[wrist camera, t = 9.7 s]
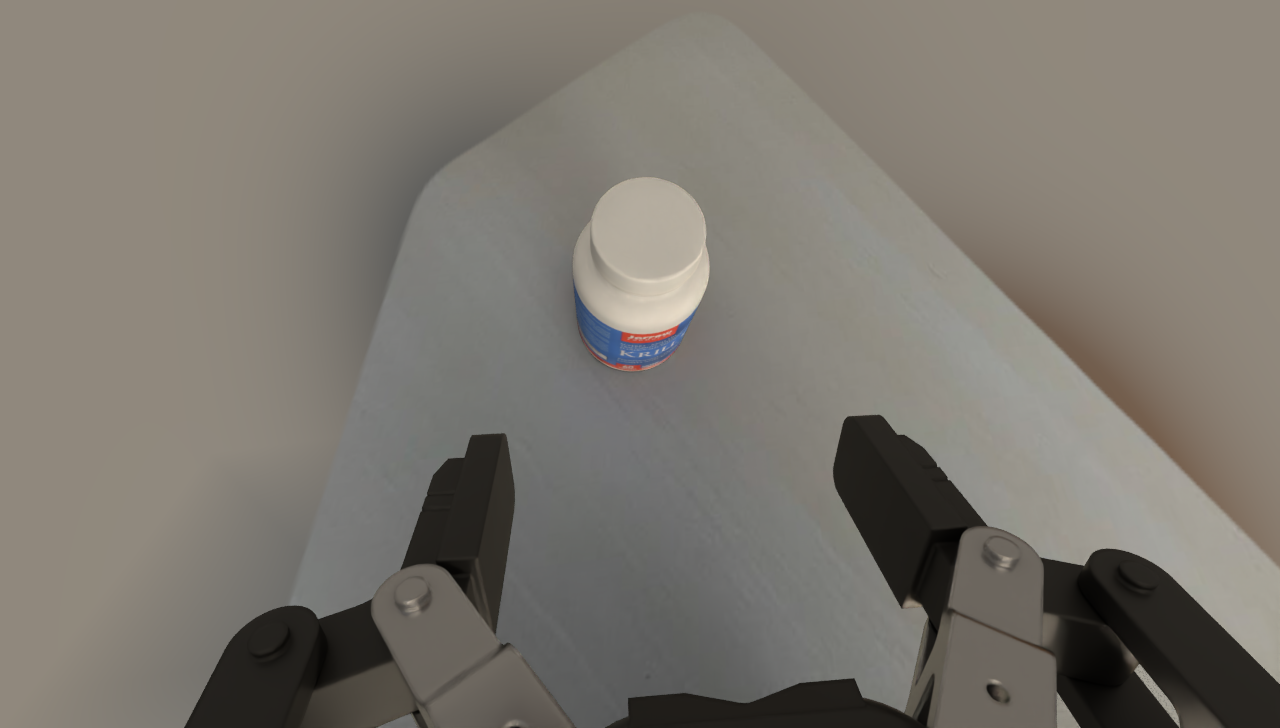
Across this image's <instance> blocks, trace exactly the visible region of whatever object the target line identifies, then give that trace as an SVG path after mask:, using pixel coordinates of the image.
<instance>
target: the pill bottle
mask: <svg viewBox="0 0 1280 728" xmlns="http://www.w3.org/2000/svg"><path fill="white" fill-rule="evenodd" d="M705 241H706V223H705V219H704V216H703V213H702V211H701V209H700V207H699V205H698V204H697V202H696V201H695V200H694V199H693V197H692V196H691V195H689V194H688V192H686V191H685V190H684V189H683V188H681V187H680V186H678V185H676V184H674V183H672V182H669V181H667V180H664V179H659V178H653V177H639V178H633V179H629V180H626V181H623V182H621V183H619V184H617V185H615V186H613V187H612V188H611V189H610V190H609V191H607V192H606V193H605V194H604V195H603V196H602V198H601V199H600V200H599V202H598V203H597V205H596V207H595V209H594V212H593V214H592V218H591V221H590V222H589V223H588V224H587V225H586V226H585V228H584V229H583V231H582V232H581V234H580V236H579V238H578V240H577V243H576V246H575V249H574V253H573V282H574V293H575V303H576V313H577V322H578V328H579V332H580V335H581V338H582V340H583V342H584V344H585V346H586V347H587V349H588V350H589V352H590V353H591V354H592V355H593V356H594V357H595V358H596V359H598V360H599V361H600V362H602V363H604V364H605V365H607V366H609V367H612V368H614V369H618V370H622V371H642V370H647V369H650V368H653V367H655V366H657V365H659V364H661V363H662V362H664V361H665V360H666V359H668V358H669V357H670V356H671V355H672V354H673V353H674V352H675V350H676V349H677V347H678V346H679V344H680V343H681V341H682V338H683V336H684V334H685V332H686V330H687V328H688V326H689V324H690V322H691V320H692V318H693V316H694V314H695V311H696V309H697V307H698V305H699V303H700V301H701V299H702V297H703V295H704V292H705V290H706V287H707V284H708V279H709V270H710V264H709V256H708V251H707V248H706V245H705Z"/></svg>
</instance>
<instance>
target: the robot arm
mask: <svg viewBox="0 0 1280 728" xmlns="http://www.w3.org/2000/svg"><path fill="white" fill-rule="evenodd" d="M833 477H834V483H835V487H836V490H837V492H838V494H839V496H840V497H841V499H842V501H843V503H844V505H845V507H846V508H847V510H848V512H849V514H850V516H851V517H852V519H853V521H854V523H855V525H856V527H857V528H858V530H859V532H860V534H861V536H862V537H863V539H864V541H865V543H866V545H867V547H868V548H869V550H870V552H871V554H872V556H873V557H874V559H875V561H876V563H877V565H878V567H879V568H880V570H881V572H882V574H883V576H884V577H885V579H886V581H887V583H888V585H889V586H890V588H891V590H892V592H893V594H894V596H895V597H896V599H897V601H898V603H899V605H900V606H901V608H902V609H903V608H916V607H923V608H924V610H925V611H926V613H927V615H928V618H927V620H926V622H925V625H924V629H923V634H922V638H921V643H920V648H919V652H918V657H917V662H916V666H915V671H914V676H913V680H912V685H911V689H910V694H909V698H908V702H907V705H906V709H905V712H904V713H903V712H901V711H899V710H897V709H895V708H893V707H890V706H888V705H886V704H883V703H880V702H877V701H874V700H870V699H866V698H862V696H861V693H860V691H859V688H858V686H857V684H856V681H855V679H854V678H853V679H841V680H830V681H818V682H806V683H799V684H796V685H794V686H791V687H789V688H786V689H784V690H781V691H779V692H776V693H774V694H771V695H769V696H766V697H764V698H761V699H759V700H756V701H754V702H750V703H737V702H732V701H726V700H721V699H715V698H710V697H704V696H698V695H693V694H687V693H680V694H668V695H657V696H645V697H634V698H628V715H629V716H628V717H626V718H623V719H621V720H618V721H616V722H614V723H612V724H611V725H609V726H607V727H605V728H1057V692H1058V694H1059V695H1060V697H1061V698H1062V700H1063V701H1064V703H1065V704H1066V706H1067V707H1068V709H1069V710H1070V712H1071V714H1072V715H1073V717H1074V718H1075V720H1076V721H1077V723H1078V724H1079V726H1080V727H1081V728H1179V727H1178V725H1177V724H1176V723H1175V722H1174V720H1173V719H1172V718H1171V717H1170V715H1169V714H1168V713H1167V712H1166V710H1165V709H1164V708H1163V707H1162V705H1161V704H1160V703H1159V702H1158V700H1157V699H1156V698H1155V697H1154V695H1153V694H1152V693H1151V692H1150V690H1149V689H1148V688H1147V687H1146V685H1145V684H1144V683H1143V682H1142V680H1141V679H1140V678H1139V677H1138V675H1137V674H1136V673H1135V672H1134V670H1135V669H1136V667H1137V666H1138V665H1139V663H1140V665H1141V666H1142V667H1143V668H1144V669H1145V671H1146V672H1147V673H1148V674H1149V676H1150V677H1151V678H1152V679H1153V680H1154V682H1155V683H1156V684H1157V685H1158V687H1159V688H1160V689H1161V690H1162V691H1163V693H1164V694H1165V695H1166V696H1167V698H1168V699H1169V700H1170V702H1171V703H1172V704H1173V706H1174V708H1175V710H1176V712H1177V714H1178V717H1179V721H1180V728H1280V684H1279V683H1278V682H1277V681H1276V680H1275V679H1274V678H1273V677H1272V676H1271V675H1270V674H1269V673H1268V672H1267V671H1266V670H1265V669H1264V668H1263V667H1262V666H1261V665H1260V664H1259V663H1258V662H1257V661H1256V660H1255V659H1254V658H1253V657H1252V656H1251V655H1250V654H1249V653H1248V652H1247V651H1246V650H1245V649H1244V648H1243V647H1242V646H1241V645H1240V644H1239V643H1238V642H1237V641H1236V640H1235V639H1234V638H1233V637H1232V636H1231V635H1230V634H1229V633H1228V632H1227V631H1226V630H1225V629H1224V628H1223V627H1222V626H1221V625H1219V624H1218V623H1217V622H1216V621H1215V620H1214V619H1213V618H1212V617H1211V616H1210V615H1209V614H1208V613H1207V612H1206V611H1205V610H1204V609H1203V608H1202V607H1201V606H1200V605H1199V604H1198V603H1197V602H1196V601H1195V600H1194V599H1193V598H1192V597H1191V596H1190V595H1189V594H1188V593H1187V592H1186V591H1185V590H1184V589H1183V588H1182V587H1181V586H1180V585H1179V584H1178V583H1177V582H1176V581H1175V580H1174V579H1173V578H1172V577H1171V576H1170V575H1169V574H1168V573H1167V572H1165V571H1164V570H1163V569H1161V568H1160V567H1158V566H1157V565H1155V564H1154V563H1152V562H1150V561H1148V560H1146V559H1144V558H1142V557H1140V556H1138V555H1135V554H1132V553H1129V552H1126V551H1122V550H1117V549H1100V550H1097V551H1095V552H1094V553H1092V555H1091V556H1090V557H1089V559H1088V561H1087V562H1086V564H1085V566H1082V565H1077V564H1071V563H1066V562H1061V561H1055V560H1050V559H1045V558H1040V557H1039V555H1038V554H1037V553H1036V552H1035V550H1034V549H1033V548H1032V547H1031V546H1030V545H1028V544H1027V543H1026V542H1025V541H1023V540H1022V539H1020V538H1019V537H1017V536H1015V535H1013V534H1011V533H1009V532H1007V531H1004V530H1001V529H998V528H994V527H988V526H987V525H986V523H985V522H984V521H983V520H982V519H981V517H980V516H979V515H978V514H977V512H976V511H975V510H974V509H973V508H972V506H971V505H970V504H969V503H968V501H967V500H966V499H965V498H964V497H963V495H962V494H961V493H960V492H959V490H958V489H957V488H956V487H955V486H954V484H953V483H952V482H951V481H950V480H948V479H947V476H946V475H945V473H944V472H943V471H942V470H941V468H940V467H937V464H936V462H935V461H934V460H933V459H932V457H931V456H930V455H929V454H928V453H927V451H926V450H925V449H924V448H923V447H922V446H920V445H919V444H917V443H916V442H914V441H913V440H911V439H910V438H908V437H907V436H905V435H897V434H896V433H895V431H894V430H893V429H892V428H891V426H890V425H889V424H888V422H887V421H886V420H885V419H884V418H883V417H882V416H881V415H866V416H849V417H847V418H846V419H845V420H844V423H843V427H842V431H841V435H840V440H839V444H838V448H837V453H836V457H835V462H834V467H833ZM514 506H515V490H514V480H513V474H512V467H511V461H510V454H509V448H508V442H507V437H506V434H505V433H502V434H482V435H472V436H471V438H470V441H469V444H468V448H467V451H466V455H465V458H451V459H448V460H447V461H446V462H445V463H444V464H443V465H442V466H441V467H440V468H439V469H438V470H437V472H436V473H435V474H434V475H433V478H432V480H431V483H430V486H429V489H428V492H427V496H426V498H425V501H424V504H423V507H422V511H421V512H420V515H419V518H418V521H417V524H416V527H415V530H414V533H413V536H412V539H411V541H410V544H409V547H408V550H407V553H406V556H405V559H404V562H403V565H402V567H401V570H400V571H398V572H397V573H395V574H393V575H392V576H391V577H389V578H388V579H387V580H386V581H385V582H384V583H383V584H382V585H381V586H380V587H379V589H378V590H377V591H376V593H375V595H374V597H373V599H371V600H369V601H367V602H365V603H363V604H361V605H358V606H356V607H353V608H350V609H347V610H344V611H341V612H338V613H335V614H332V615H329V616H326V617H324V618H321V619H317V617H316V615H315V613H314V612H313V611H311V610H310V609H308V608H306V607H302V606H285V607H280V608H277V609H273V610H271V611H268V612H266V613H264V614H262V615H260V616H258V617H257V618H255V619H253V620H252V621H251V622H249V623H248V624H247V625H245V626H244V627H243V628H242V629H241V630H240V631H239V632H238V633H237V634H236V635H235V636H234V637H233V638H232V640H231V641H230V642H229V644H228V645H227V647H226V649H225V651H224V653H223V654H222V656H221V658H220V660H219V662H218V664H217V666H216V668H215V670H214V672H213V674H212V675H211V677H210V679H209V682H208V683H207V685H206V687H205V689H204V691H203V693H202V695H201V697H200V699H199V700H198V702H197V704H196V707H195V708H194V710H193V712H192V714H191V716H190V718H189V720H188V722H187V724H186V726H185V727H184V728H376V727H378V726H381V725H383V724H385V723H388V722H390V721H393V720H395V719H397V718H400V717H402V716H405V715H407V714H409V713H410V714H411V715H412V717H413V719H414V721H415V723H416V725H417V727H418V728H576V727H575V725H574V724H573V723H572V721H571V720H570V719H569V717H568V716H567V715H566V713H565V712H564V711H563V709H562V708H561V707H560V705H559V704H558V703H557V701H556V700H555V699H554V697H553V696H552V695H551V693H550V692H549V691H548V689H547V688H546V687H545V685H544V684H543V683H542V681H541V680H540V679H539V677H538V676H537V675H536V673H535V672H534V671H533V669H532V668H531V667H530V665H529V664H528V663H527V661H526V660H525V659H524V657H523V656H522V655H521V654H520V652H519V651H518V650H517V649H516V648H515V647H514V646H513V645H512V644H510V643H506V644H505V645H503V644H502V643H501V642H500V641H499V640H498V639H497V637H496V636H495V635H496V628H497V622H498V615H499V608H500V602H501V595H502V588H503V581H504V575H505V568H506V561H507V555H508V548H509V541H510V535H511V528H512V521H513V515H514Z"/></svg>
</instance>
